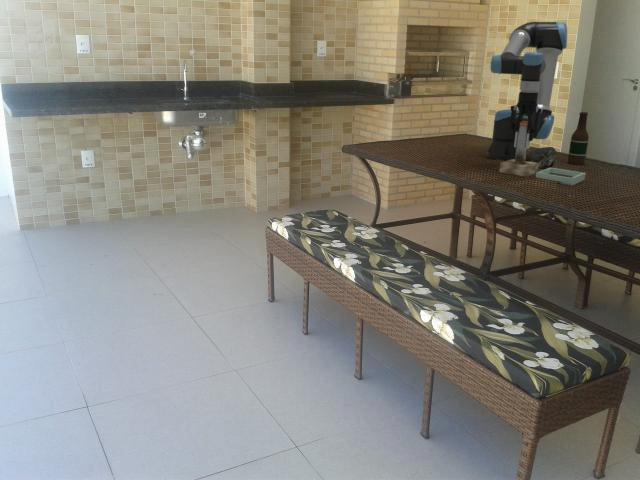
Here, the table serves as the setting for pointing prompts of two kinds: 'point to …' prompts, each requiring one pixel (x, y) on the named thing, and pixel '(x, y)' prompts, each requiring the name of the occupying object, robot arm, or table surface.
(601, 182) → the table surface
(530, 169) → the block
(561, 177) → the tray
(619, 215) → the table surface
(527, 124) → the pin
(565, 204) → the table surface
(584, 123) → the beer bottle
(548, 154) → the rock
